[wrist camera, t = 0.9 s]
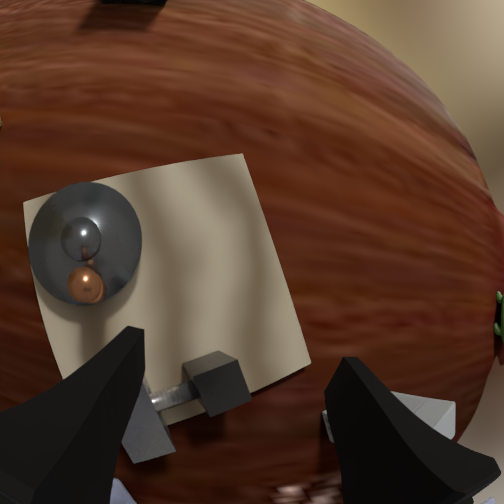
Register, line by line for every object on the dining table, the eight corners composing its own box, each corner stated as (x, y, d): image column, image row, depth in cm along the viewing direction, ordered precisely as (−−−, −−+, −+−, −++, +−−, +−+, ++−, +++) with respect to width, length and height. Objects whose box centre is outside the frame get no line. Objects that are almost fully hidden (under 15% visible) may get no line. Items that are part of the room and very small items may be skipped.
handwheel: (47, 318, 17) (23, 320, 12) (27, 205, 17) (5, 179, 13) (155, 287, 20) (160, 280, 16) (128, 176, 21) (128, 144, 16)
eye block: (133, 435, 17) (133, 463, 13) (101, 366, 18) (92, 382, 14) (167, 425, 19) (175, 451, 14) (137, 356, 19) (137, 369, 15)
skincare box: (328, 441, 24) (415, 481, 14) (319, 411, 25) (414, 447, 14) (369, 412, 27) (456, 435, 16) (363, 383, 27) (456, 399, 16)
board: (96, 440, 17) (95, 445, 16) (27, 206, 18) (23, 202, 17) (305, 361, 25) (311, 363, 24) (238, 158, 27) (242, 153, 26)
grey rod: (87, 430, 16) (78, 455, 12) (70, 396, 16) (56, 415, 12) (230, 384, 21) (252, 399, 17) (218, 350, 21) (237, 359, 17)
